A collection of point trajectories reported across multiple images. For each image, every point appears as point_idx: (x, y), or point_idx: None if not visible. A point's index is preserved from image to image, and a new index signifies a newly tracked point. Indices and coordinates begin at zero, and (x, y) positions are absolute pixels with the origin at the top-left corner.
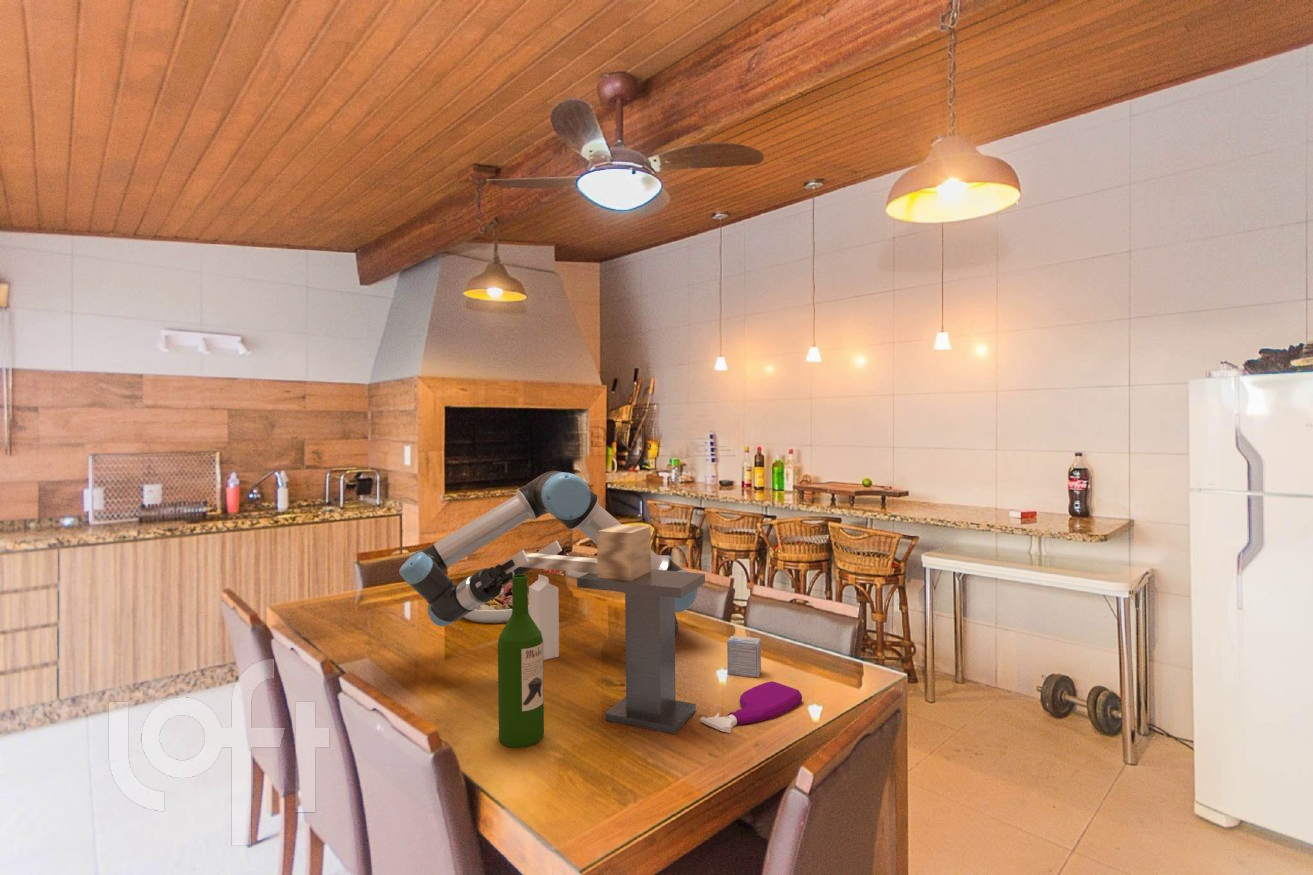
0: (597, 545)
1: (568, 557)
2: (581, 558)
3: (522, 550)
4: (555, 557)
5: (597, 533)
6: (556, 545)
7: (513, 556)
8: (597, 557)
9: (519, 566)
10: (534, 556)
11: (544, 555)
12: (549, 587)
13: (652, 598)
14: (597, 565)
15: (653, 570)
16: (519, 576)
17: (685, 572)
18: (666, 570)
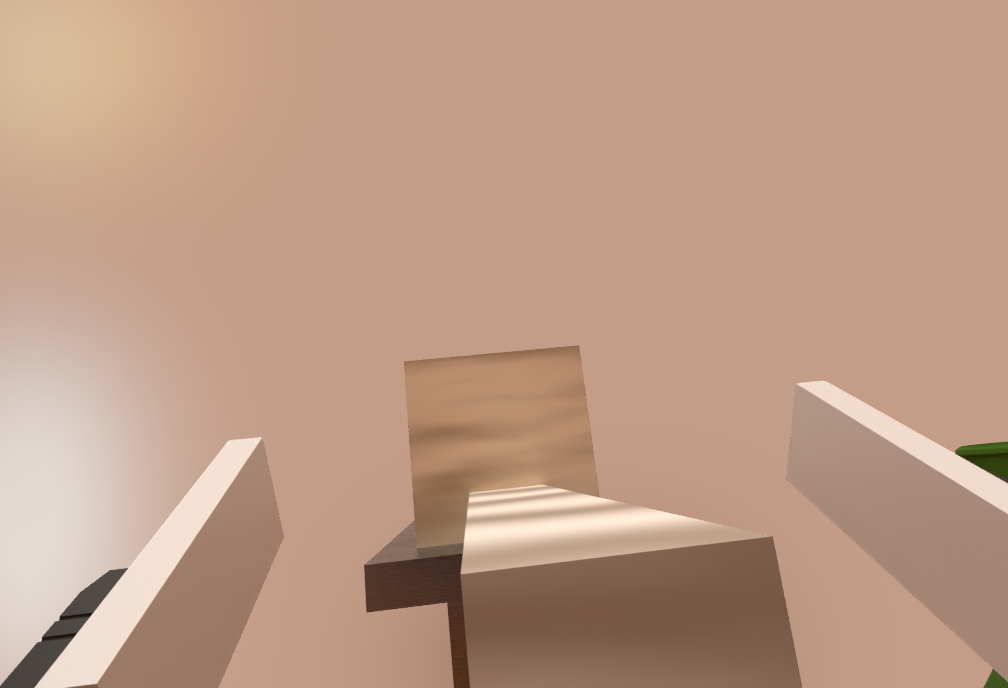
0: (585, 399)
1: (507, 501)
2: (499, 496)
3: (816, 382)
4: (547, 502)
5: (579, 354)
6: (267, 486)
7: (911, 435)
8: (592, 445)
9: (870, 548)
10: (614, 512)
11: (523, 516)
12: None
13: None
14: (596, 477)
15: (415, 532)
16: (999, 455)
17: (414, 523)
18: (404, 530)
